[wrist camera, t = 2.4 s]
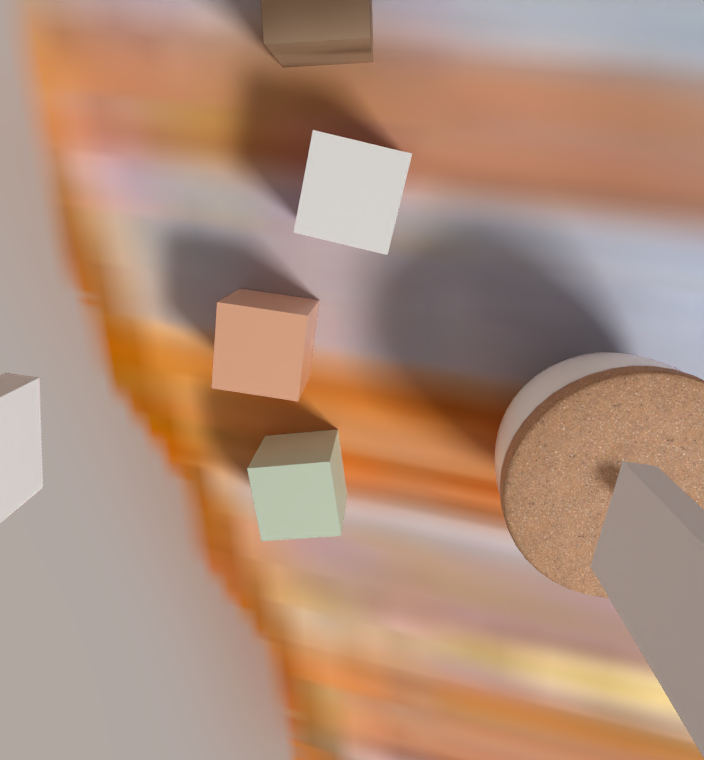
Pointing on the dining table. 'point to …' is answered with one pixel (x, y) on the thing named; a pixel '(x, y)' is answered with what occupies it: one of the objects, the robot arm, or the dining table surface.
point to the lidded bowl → (591, 453)
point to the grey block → (351, 192)
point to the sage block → (299, 485)
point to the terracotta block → (264, 343)
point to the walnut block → (318, 31)
